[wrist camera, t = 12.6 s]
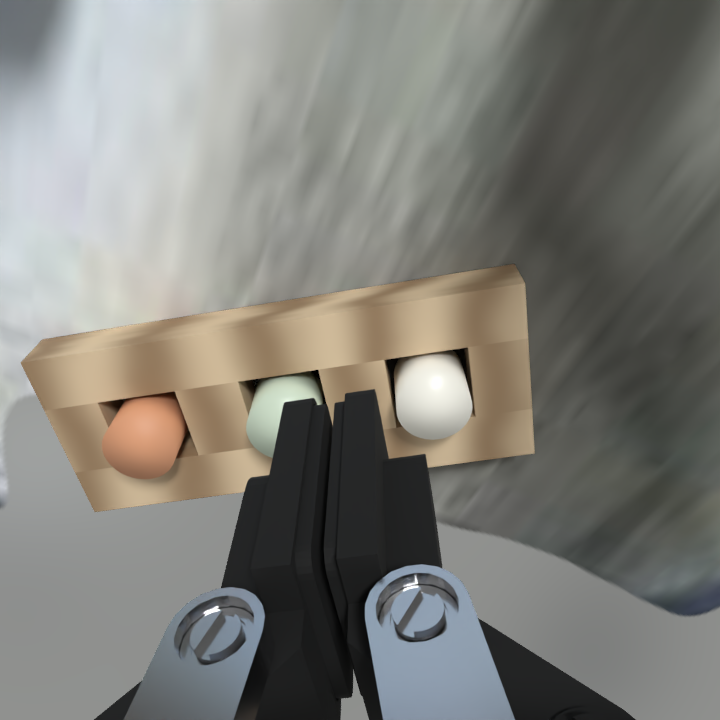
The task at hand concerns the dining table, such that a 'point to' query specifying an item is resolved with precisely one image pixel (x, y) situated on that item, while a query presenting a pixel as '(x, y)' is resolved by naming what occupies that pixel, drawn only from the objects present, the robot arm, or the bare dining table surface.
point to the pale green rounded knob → (278, 405)
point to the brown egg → (145, 436)
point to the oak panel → (287, 356)
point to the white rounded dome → (432, 394)
